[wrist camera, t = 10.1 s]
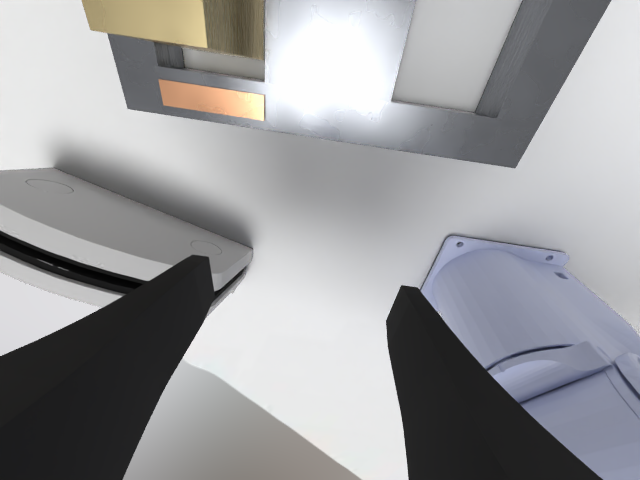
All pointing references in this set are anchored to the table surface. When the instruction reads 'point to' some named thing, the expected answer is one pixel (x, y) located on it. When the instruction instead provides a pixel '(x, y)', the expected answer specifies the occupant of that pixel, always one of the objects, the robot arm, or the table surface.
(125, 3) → the brass peg
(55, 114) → the table surface
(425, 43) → the table surface
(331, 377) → the table surface
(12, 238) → the grey rounded block
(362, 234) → the table surface
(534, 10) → the rail plate
